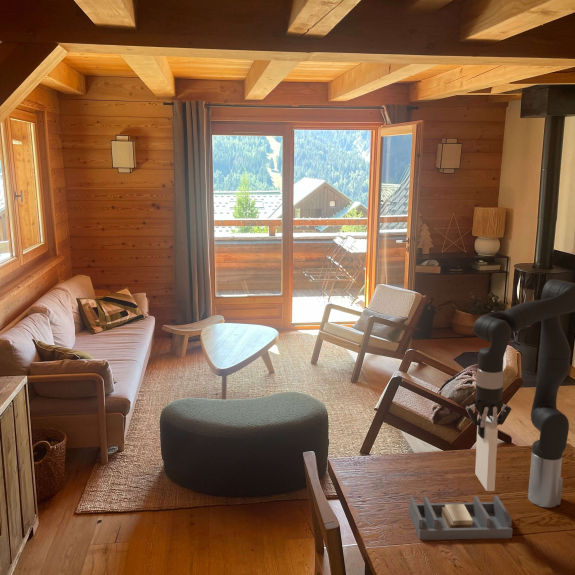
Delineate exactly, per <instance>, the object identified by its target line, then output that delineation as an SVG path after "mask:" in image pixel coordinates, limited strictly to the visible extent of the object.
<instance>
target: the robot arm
mask: <svg viewBox="0 0 575 575" xmlns="http://www.w3.org/2000/svg"><path fill="white" fill-rule="evenodd" d="M574 312H575V283H574V282H572V281H571V282H570V281H566V280H561V279H553V278H552V279H548V280H547V282H546V283H545V284H544V286H543V289H542V292H541V298H540V299H539V300H532V301H531V300H529V301H525V302H522V303H518V304H516V305H514V306H512V307H510V308H507V309H506V310H499V311H495V312H493V311H492V312H489V313H485V314H482V315H481V316H479V317H478V318H477V319H476V320H475V322H474V323H473V327H472V328H473V333H474V335H475V336H476V337H477V338H479V339H481V340H483V341H487V342H490V346H489V347H488V346H487V347H483V348H480V350H479V351H478V354H477V371H476V378H475V380H476V381H475V400H474V401H473V404H471V405H465V407H464V408H465V410H466V412H467V414H468V417H469V418H470V420H471V422H472V423H473V425H474V426H476V427H477V425H478V434H479V436H480V437H481V438H484V430H485V427H484V425H485V421H486V417H489V419H490V420H491V421H492V423H493V424H494V425H495V426H496V427H497V428H498V426H500V425H501V426H502V425H503V424H504V423H505V421H506V419H507V418H508V416H509V414H510V413H511V411H512V408H511V407H510V405H508V404H507V403H506V404H505V403H504V402H503V392H504V391H503V390H504V357H505V354H506V351H507V349H508V346H509V343H510V340H511V337H512V333H516V332H518V331H521V330H523V329H525V328H528V327H530V326H532V325H534V324H537V323H538V322H541V330H540V341H539V342H540V343H539V351H538V361H537V375H536V383H535V392H534V397H533V402H532V406H531V410H530V411H531V412H530V421H531V423H532V425H533V427H534V428H536V429H537V430H538V431H539V432H540V433H539V439H537V440H535V441H534V442H532V446H531V457H530V469H529V481H528V490H527V499H528V501H530V503H532V504H534V505H536V506H538V507H540V508H554V507H557V506H558V505H561V500H562V491H563V480H564V479H563V477H562V476H561V475H562V474H561V473H562V462H563V453H564V451H565V450H566V448H567V443H568V437H569V430H570V422H569V419H568V417H567V416H566V415H565V414H564V413H563V411H562V412H561V411H560V410H559V409H558V408H557V401H558V400H557V399H558V391H559V388H560V386H561V385H562V383H563V382H564V381H565V379H566V377H567V376H568V374H569V371H570V365H571V356H572V351H571V346H570V343H569V341H568V339H567V337H566V334H565V332H564V330H563V327H562V325H561V315H565V314H571V313H574ZM475 409H476V410H477V412H478V413H477V417H476V415H475V413H476V410H475ZM500 410H501V411H500ZM498 413H499V414H498Z"/></svg>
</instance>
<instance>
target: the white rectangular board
mask: <svg viewBox="0 0 575 575" xmlns="http://www.w3.org/2000/svg"><path fill="white" fill-rule="evenodd" d="M476 427H477V428H476V444H475V445H476V447H475V448H476V450H475V453H476V454H475V470H474V471H475V472H474V473H475V475H476V477H477V479H478V481H479V482H480V484H481V485H482V486H483V488H484V491H486V492H495V489H496V488H495V487H496V486H495V485H496V483H495V482H496V472H497V471H496V470H497V452H498V451H497V449H498V432H499V430H498V429H499V428H498V426H497V427H496V426H495V425H494V424H493V423H492V421H491V420H490V417H489V416H487V417H486V421H485V425H484V427H485V430H484V438H481V437H480V436H479V434H478V425H477V426H476Z"/></svg>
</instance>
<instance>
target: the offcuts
mask: <svg viewBox="0 0 575 575" xmlns="http://www.w3.org/2000/svg"><path fill="white" fill-rule="evenodd" d="M441 516H442V518H443V520H444V522H445V524H446V526H447V528H472V526H471V525H472V524H473V520H472V518H471V516H470V514H469V513H468V511H467V509H466V507H465V505H464V504H448V505H445V507H442V511H441Z"/></svg>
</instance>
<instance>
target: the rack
mask: <svg viewBox="0 0 575 575" xmlns="http://www.w3.org/2000/svg"><path fill="white" fill-rule="evenodd" d="M423 498H424V499H423V503H417V502H416V500H415V498H414V497H413V496H411V497H409V504H408V514H409V516H410V520H411V522H412V525H413V527H414V529H415V532H416V536H417V537H418V540H419V541H424V540H425V541H431V540H432V541H433V540H437V541H439V540H475V539H477V540H478V539H482V540H484V539H512V538H513V527H512V522H513V517H512V516H511V514H510V512H509V511H508V510H507V508H506V507H505V505H504V504H503V501H501V499H500V497H499V496H498V495H496V494H495V495H493V501H492V502H491V501H486V502H485V501H484V502H483V501H481V500H480V499H479V497H478V495H473V501H472V502H439V503H438V502H437V503H436V502H433V503H431V501H430V500H429V498H428V496H423ZM448 504H464V505H465V507H466V509H467V511H468V513H469V514H470V516H471V518H472V520H473V524H472V525H471V526H472V528H447V526H446V524H445V522H444V520H443V518H442V516H441V511H442V507H445V505H448Z"/></svg>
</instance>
